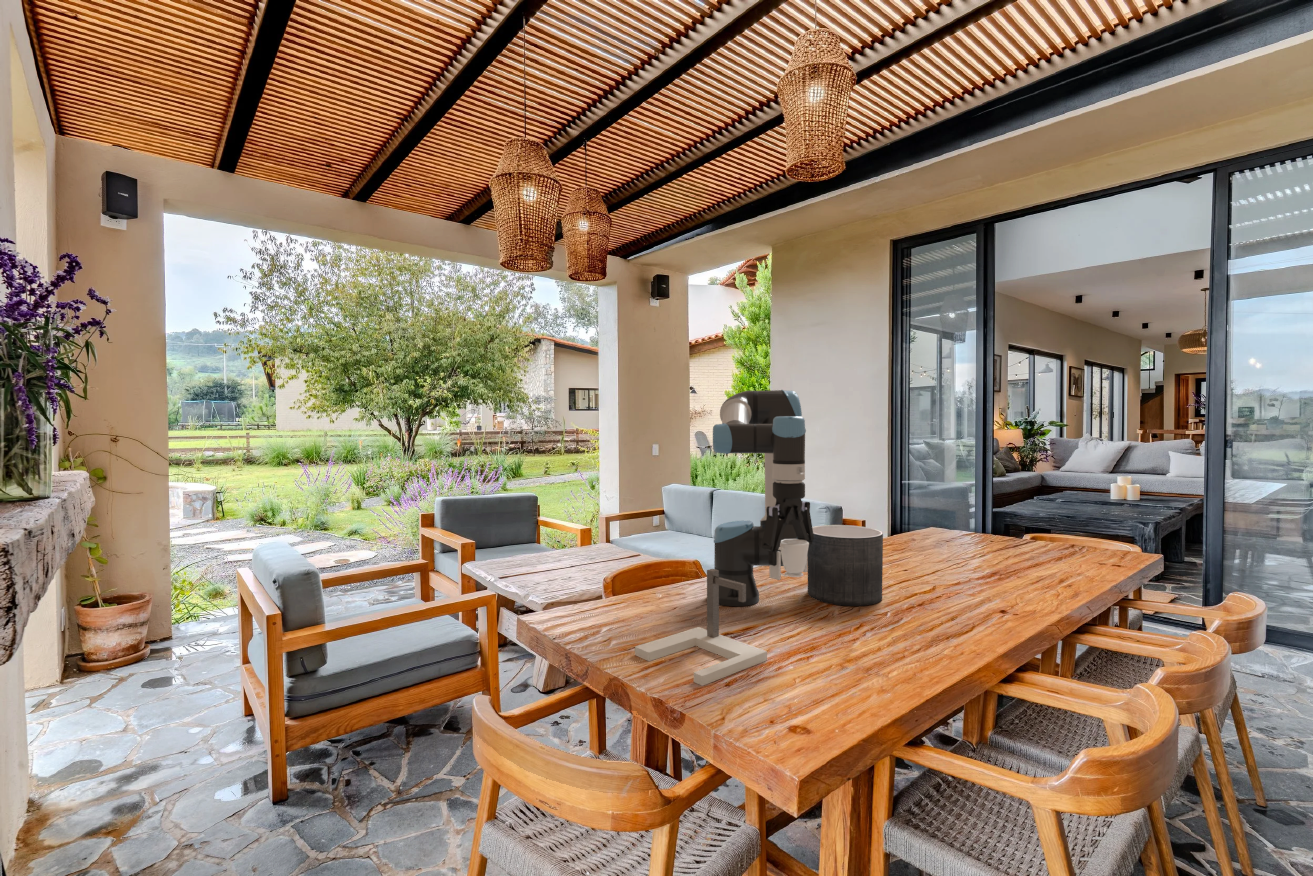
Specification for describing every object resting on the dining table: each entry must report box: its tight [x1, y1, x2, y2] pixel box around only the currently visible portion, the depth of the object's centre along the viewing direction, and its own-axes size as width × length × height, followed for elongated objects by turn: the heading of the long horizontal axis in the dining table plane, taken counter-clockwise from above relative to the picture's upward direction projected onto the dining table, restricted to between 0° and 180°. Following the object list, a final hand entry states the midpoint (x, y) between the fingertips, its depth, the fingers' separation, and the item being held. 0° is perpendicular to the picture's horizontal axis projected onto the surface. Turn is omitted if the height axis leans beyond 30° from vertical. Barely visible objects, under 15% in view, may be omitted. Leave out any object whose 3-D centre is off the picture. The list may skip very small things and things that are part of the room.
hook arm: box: [706, 568, 746, 638], centre depth 145 cm, size 11×2×16 cm, turn 40°
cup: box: [778, 539, 809, 578], centre depth 147 cm, size 7×10×8 cm
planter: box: [807, 524, 884, 607], centre depth 189 cm, size 22×22×20 cm
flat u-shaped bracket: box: [634, 626, 768, 687], centre depth 140 cm, size 22×20×2 cm
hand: (788, 574), depth 147 cm, fingers closed on cup, 9 cm apart
